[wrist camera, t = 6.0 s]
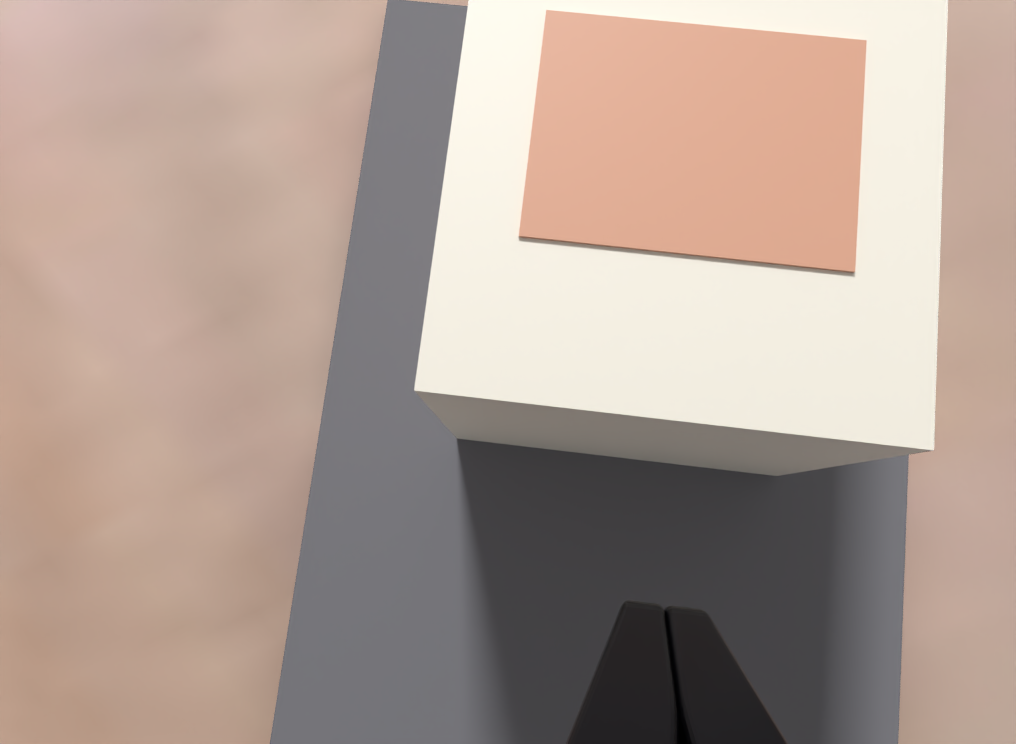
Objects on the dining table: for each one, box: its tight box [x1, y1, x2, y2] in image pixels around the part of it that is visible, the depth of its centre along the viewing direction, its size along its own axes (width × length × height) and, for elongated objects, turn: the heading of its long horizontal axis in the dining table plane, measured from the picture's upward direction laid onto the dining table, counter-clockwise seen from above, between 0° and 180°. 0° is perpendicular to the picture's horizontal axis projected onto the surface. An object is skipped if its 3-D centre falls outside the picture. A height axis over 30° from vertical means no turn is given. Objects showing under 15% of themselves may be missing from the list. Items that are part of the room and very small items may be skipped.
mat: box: [270, 0, 909, 744], centre depth 16 cm, size 19×11×1 cm, turn 173°
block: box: [414, 0, 948, 476], centre depth 13 cm, size 6×6×9 cm
